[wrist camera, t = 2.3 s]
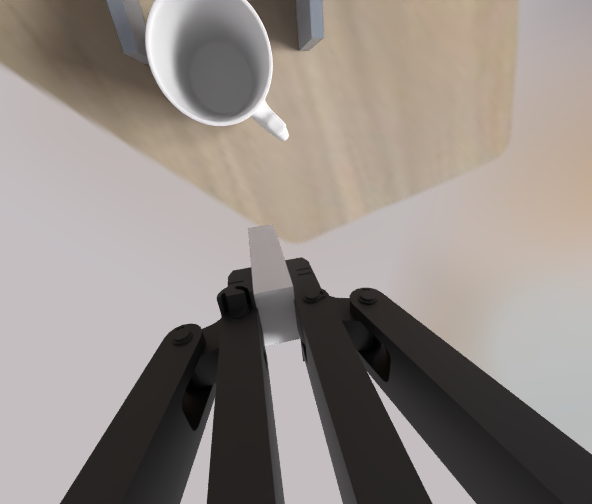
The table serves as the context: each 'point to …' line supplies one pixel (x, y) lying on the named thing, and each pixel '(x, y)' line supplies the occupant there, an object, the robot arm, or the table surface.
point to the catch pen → (133, 26)
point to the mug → (212, 61)
